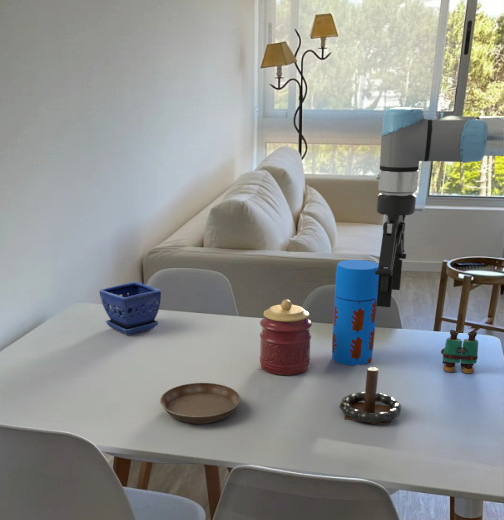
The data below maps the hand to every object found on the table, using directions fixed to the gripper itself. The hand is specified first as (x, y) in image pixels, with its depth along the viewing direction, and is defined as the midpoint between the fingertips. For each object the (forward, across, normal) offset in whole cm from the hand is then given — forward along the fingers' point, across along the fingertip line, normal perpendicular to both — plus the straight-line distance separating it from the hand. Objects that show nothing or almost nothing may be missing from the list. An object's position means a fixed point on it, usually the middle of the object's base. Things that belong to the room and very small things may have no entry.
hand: (388, 297), depth 149 cm
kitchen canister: (+25, -16, -27) cm, 41 cm away
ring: (+23, +6, -1) cm, 24 cm away
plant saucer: (+25, +15, -38) cm, 48 cm away
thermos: (+25, -28, -12) cm, 40 cm away
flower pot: (+25, -31, -78) cm, 88 cm away
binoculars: (+26, -31, +15) cm, 43 cm away
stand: (+25, +7, -1) cm, 26 cm away
